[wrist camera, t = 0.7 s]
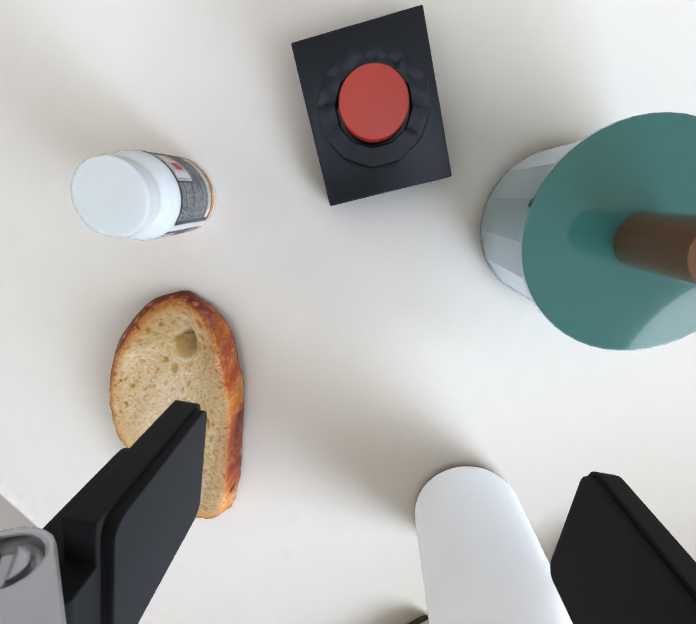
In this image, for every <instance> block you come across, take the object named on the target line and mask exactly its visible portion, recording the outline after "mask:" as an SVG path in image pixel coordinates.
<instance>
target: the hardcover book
mask: <svg viewBox="0 0 696 624" xmlns="http://www.w3.org/2000/svg"><path fill="white" fill-rule="evenodd" d="M410 624H429V619H428V616H426V615H424V616H422V617H421V618H419V619H417V620H415V621H413V622H411V623H410Z"/></svg>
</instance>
